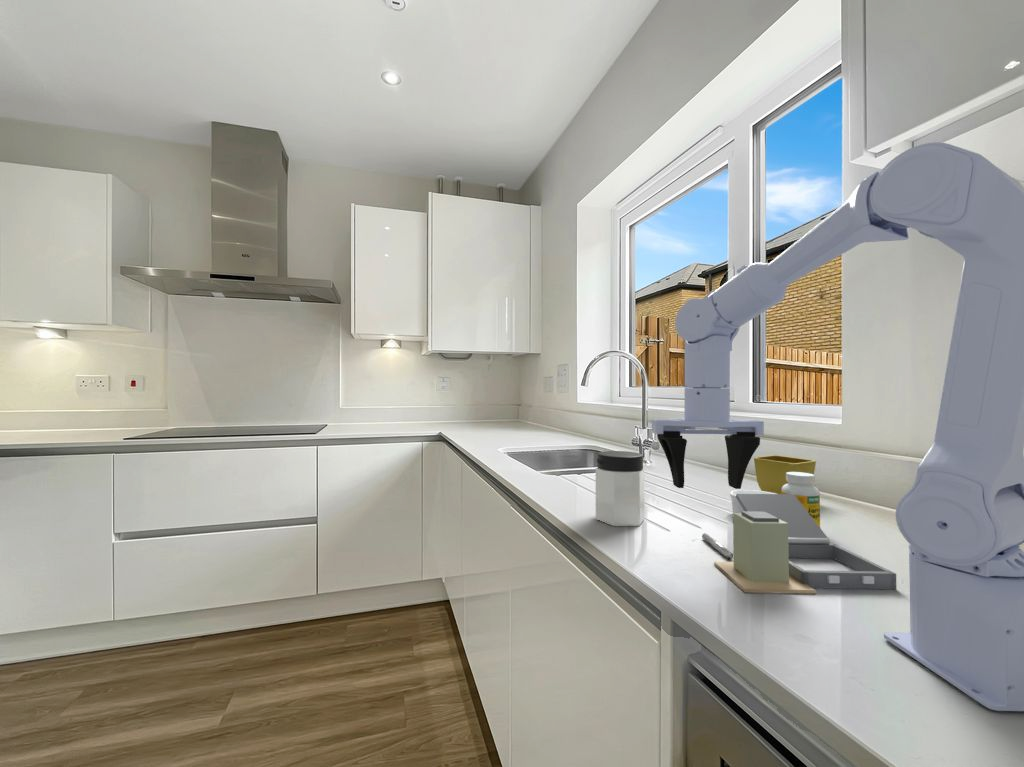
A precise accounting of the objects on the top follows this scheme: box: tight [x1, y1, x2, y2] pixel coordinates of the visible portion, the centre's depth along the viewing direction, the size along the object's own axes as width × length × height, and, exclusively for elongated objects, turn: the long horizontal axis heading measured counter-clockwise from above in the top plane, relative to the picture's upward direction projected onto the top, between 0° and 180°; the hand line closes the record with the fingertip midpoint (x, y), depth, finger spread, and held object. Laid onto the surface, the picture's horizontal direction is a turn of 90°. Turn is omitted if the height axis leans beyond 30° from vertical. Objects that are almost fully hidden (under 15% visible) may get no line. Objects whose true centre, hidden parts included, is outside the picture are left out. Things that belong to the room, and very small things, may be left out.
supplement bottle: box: [782, 472, 821, 528], centre depth 72 cm, size 5×5×10 cm
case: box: [789, 543, 897, 590], centre depth 56 cm, size 10×11×2 cm
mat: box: [713, 561, 817, 595], centre depth 53 cm, size 8×8×1 cm
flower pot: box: [753, 454, 817, 494], centre depth 93 cm, size 9×9×9 cm
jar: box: [595, 450, 645, 527], centre depth 78 cm, size 9×8×12 cm
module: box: [732, 511, 790, 582], centre depth 54 cm, size 4×4×7 cm
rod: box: [701, 532, 734, 560], centre depth 63 cm, size 8×1×1 cm, turn 178°
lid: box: [736, 494, 831, 544], centre depth 65 cm, size 8×9×7 cm
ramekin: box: [729, 489, 776, 514], centre depth 80 cm, size 9×9×4 cm
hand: (706, 486), depth 59 cm, fingers open, 7 cm apart
